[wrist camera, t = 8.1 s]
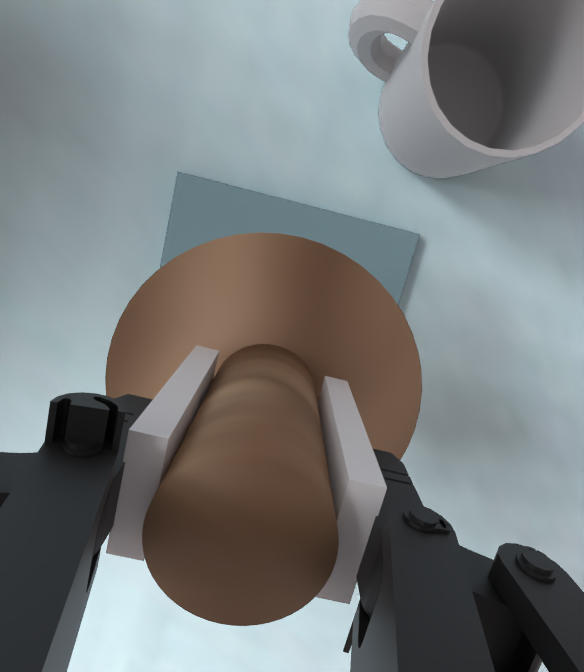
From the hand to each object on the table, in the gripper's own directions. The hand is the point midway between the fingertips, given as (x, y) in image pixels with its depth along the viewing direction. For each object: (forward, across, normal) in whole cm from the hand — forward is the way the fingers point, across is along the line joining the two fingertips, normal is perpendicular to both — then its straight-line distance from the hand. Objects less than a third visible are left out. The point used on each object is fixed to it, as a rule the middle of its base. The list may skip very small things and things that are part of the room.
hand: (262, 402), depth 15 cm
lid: (+2, 0, 0) cm, 2 cm away
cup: (+14, +5, +14) cm, 20 cm away
